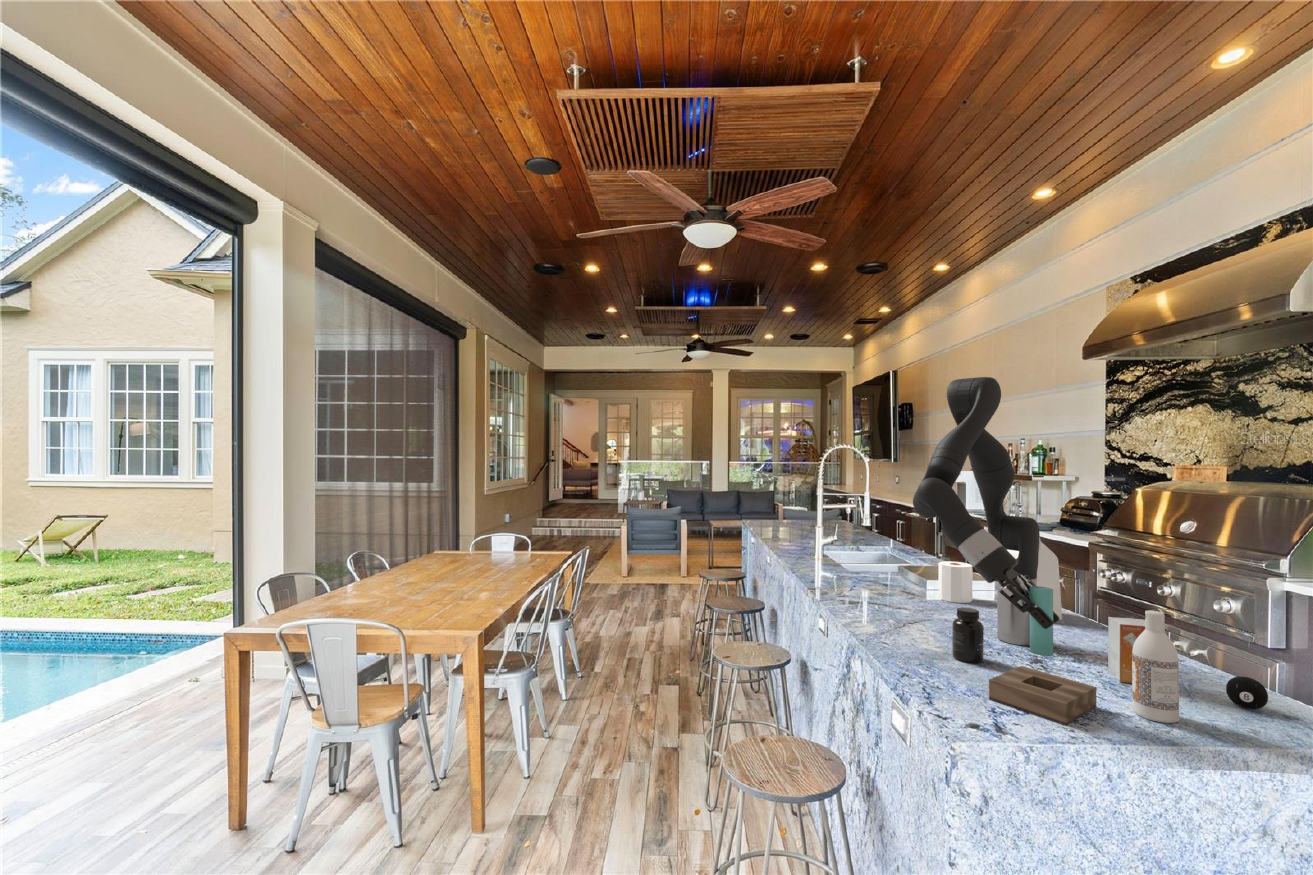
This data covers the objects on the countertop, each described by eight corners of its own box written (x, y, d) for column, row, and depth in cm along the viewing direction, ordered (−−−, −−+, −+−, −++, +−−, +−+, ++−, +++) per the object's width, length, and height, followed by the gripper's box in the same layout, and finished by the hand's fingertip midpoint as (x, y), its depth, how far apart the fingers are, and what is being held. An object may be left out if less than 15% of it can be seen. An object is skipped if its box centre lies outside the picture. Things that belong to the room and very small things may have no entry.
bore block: (1021, 684, 131) (1021, 665, 131) (1096, 707, 120) (1096, 687, 120) (989, 699, 123) (988, 679, 123) (1065, 725, 112) (1065, 703, 112)
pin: (1035, 648, 124) (1035, 585, 125) (1056, 653, 121) (1056, 589, 121) (1026, 651, 122) (1026, 587, 122) (1047, 657, 119) (1047, 591, 119)
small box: (1119, 682, 132) (1119, 623, 133) (1107, 672, 138) (1107, 615, 139) (1164, 687, 130) (1163, 627, 130) (1149, 676, 136) (1149, 619, 136)
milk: (1062, 619, 181) (1061, 533, 181) (1023, 619, 181) (1023, 533, 182) (1037, 609, 193) (1037, 528, 193) (1001, 608, 193) (1001, 527, 194)
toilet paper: (966, 596, 209) (966, 561, 209) (976, 604, 199) (976, 567, 199) (935, 595, 211) (935, 560, 211) (943, 602, 201) (943, 566, 201)
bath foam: (1133, 705, 121) (1132, 605, 121) (1178, 715, 116) (1177, 611, 117) (1131, 716, 116) (1131, 612, 116) (1179, 727, 111) (1178, 619, 111)
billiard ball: (1225, 707, 120) (1225, 677, 120) (1226, 699, 124) (1226, 669, 124) (1268, 717, 116) (1268, 686, 116) (1268, 708, 120) (1267, 677, 120)
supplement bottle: (987, 664, 143) (987, 614, 143) (956, 662, 144) (956, 612, 145) (978, 655, 150) (978, 606, 150) (949, 653, 151) (948, 605, 151)
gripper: (989, 548, 122) (1060, 620, 114) (1010, 541, 132) (1076, 607, 124) (962, 570, 126) (1028, 642, 117) (984, 561, 136) (1046, 627, 127)
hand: (1052, 623), depth 120 cm, fingers closed on pin, 4 cm apart
